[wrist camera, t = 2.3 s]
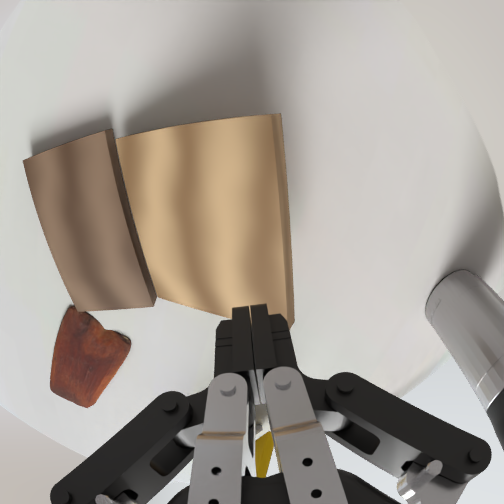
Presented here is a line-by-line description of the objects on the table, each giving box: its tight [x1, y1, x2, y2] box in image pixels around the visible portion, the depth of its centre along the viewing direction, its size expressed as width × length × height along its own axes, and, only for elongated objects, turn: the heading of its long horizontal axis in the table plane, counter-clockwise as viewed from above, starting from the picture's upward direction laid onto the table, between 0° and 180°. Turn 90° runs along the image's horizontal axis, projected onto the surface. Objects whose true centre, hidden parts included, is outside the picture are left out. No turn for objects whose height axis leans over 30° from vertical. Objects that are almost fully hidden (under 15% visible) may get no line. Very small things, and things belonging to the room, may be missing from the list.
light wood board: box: [115, 114, 295, 330], centre depth 23 cm, size 14×16×2 cm
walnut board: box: [23, 129, 157, 312], centre depth 26 cm, size 10×18×2 cm, turn 6°
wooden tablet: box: [50, 306, 131, 408], centre depth 37 cm, size 27×10×2 cm, turn 143°
